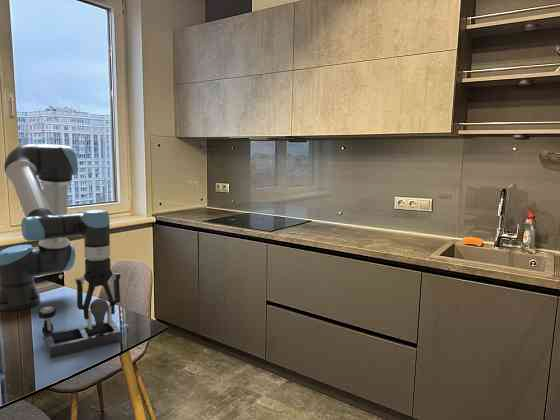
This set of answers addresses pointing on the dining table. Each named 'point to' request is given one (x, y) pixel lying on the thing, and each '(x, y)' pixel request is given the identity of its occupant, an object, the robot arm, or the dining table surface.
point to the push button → (47, 319)
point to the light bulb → (99, 311)
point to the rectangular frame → (81, 339)
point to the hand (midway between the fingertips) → (99, 325)
